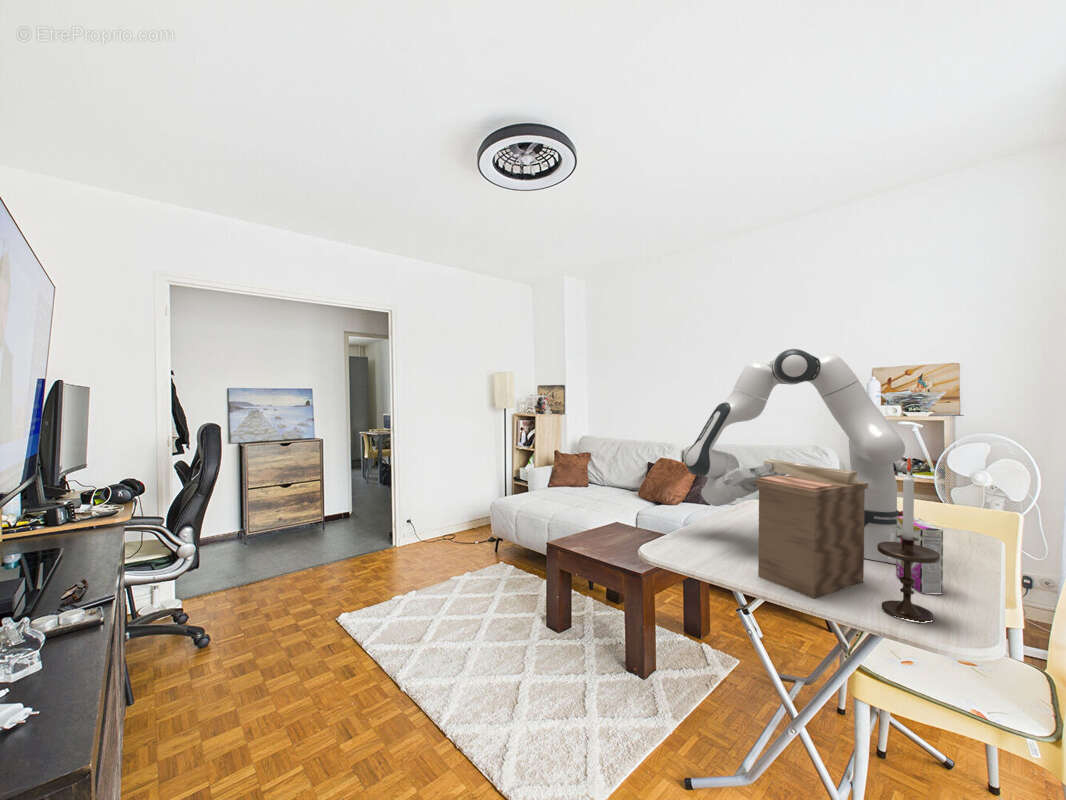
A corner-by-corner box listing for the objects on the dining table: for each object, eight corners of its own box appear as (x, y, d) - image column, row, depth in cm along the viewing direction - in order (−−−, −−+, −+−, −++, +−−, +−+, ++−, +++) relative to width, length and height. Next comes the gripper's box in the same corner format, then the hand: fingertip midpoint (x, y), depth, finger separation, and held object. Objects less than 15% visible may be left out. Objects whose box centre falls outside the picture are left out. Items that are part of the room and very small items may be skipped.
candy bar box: (894, 576, 125) (895, 515, 124) (915, 577, 124) (916, 516, 123) (920, 594, 114) (921, 527, 113) (943, 596, 113) (944, 528, 112)
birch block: (772, 469, 141) (772, 458, 141) (856, 483, 119) (857, 471, 119) (763, 470, 139) (763, 459, 139) (847, 484, 118) (847, 472, 118)
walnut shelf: (806, 562, 135) (807, 471, 134) (866, 582, 120) (867, 481, 120) (755, 576, 125) (756, 478, 124) (814, 600, 111) (815, 489, 110)
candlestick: (885, 598, 111) (887, 453, 111) (944, 615, 103) (947, 458, 102) (869, 611, 105) (871, 457, 104) (931, 631, 96) (933, 463, 95)
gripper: (716, 474, 145) (749, 457, 134) (760, 469, 154) (794, 452, 143) (724, 494, 142) (759, 478, 131) (768, 487, 151) (804, 472, 140)
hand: (778, 464), depth 137 cm, fingers closed on birch block, 4 cm apart
